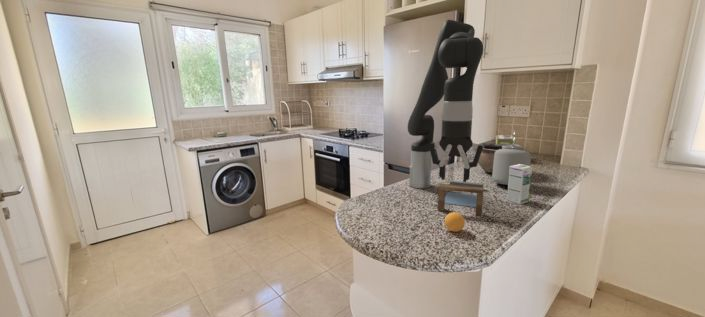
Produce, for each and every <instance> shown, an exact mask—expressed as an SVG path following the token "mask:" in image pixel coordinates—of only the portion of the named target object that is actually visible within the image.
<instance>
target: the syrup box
mask: <svg viewBox="0 0 705 317" xmlns="http://www.w3.org/2000/svg"><path fill="white" fill-rule="evenodd" d="M532 174H533V166H531V165H530V166H528V165H522V164H518V165H513V166H510V168H509V181H508V185H507V195H506V196H507V197H506V198H507V199H506V200H507V201H508V202H510V203H514V204H517V205H522V204H525V203H529V202H530V200H531V199H530V197H531V196H530V195H531V186H532V177H533V176H532Z"/></svg>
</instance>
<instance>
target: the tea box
mask: <svg viewBox="0 0 705 317" xmlns="http://www.w3.org/2000/svg"><path fill="white" fill-rule="evenodd" d="M511 137H512V138H511ZM513 139H514V134H513V135H512V134H510V135H509V134H508V135H507V134H496V135H495V145H499V144H500V143H501V142H503V143H510V145H512V144H516V138H515V139H514V140H513Z"/></svg>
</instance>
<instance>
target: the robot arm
mask: <svg viewBox="0 0 705 317" xmlns="http://www.w3.org/2000/svg"><path fill="white" fill-rule="evenodd" d="M475 31H476V30H475V27H474V26H473V25H471V24H469V23H465V22H460V21H457V20H455V19H454V20H453V19H447V20H445V21H444V23H443V24H442V26H441V29H440V31H439V34H438V38H437V41H436V44H435V48H434V52H433V55H432V58H431V62H430V65H429V67H428V70H427V73H426V75H425V77H424V80H423V83H422V86H421V89H420V93H419V94H418V95H419V96H418V98H417V100H416V104H415V106H414V108H413V110H412V113H411V114H410V116H409V119H408V122H407V132H408V134H409V135H410V136H413V137H418V136H419V137H421V138H420V139H418V140H416V142H413V143H412V144H411V146H410V148H411V149H410V150H411V151H410V166H409V187H412V188H415V189H423V190H424V189H428V188H431V184H432V182H431V181H432V164H434V165H437V166H438V167H439V168H438V171H439V172H438V173H439V174H438V175H439V178H441V180H443V181H445V179H446V167H447V166H446V162H447V160H448V158H449V157H458V158H461V162H462V163H463V167H464V168H463V181H462V182H467V181H468V180H469V179H470V174H471V172H470V171H471V168H477V166H478V165H479V163H478V161H479V158H480V155H481V152H482V149H483V145H482V144H481V143H479V144H478V143H474V142H473V140H472V128H473V111H474V108H473V94H474V93H473V92H474V83H475V78H476V74H477V71H478V68H479V64H480V62H481V60H482V56H483V53H484V44H483V41H482V40H481V39H480V38H479V37H475V33H476V32H475ZM458 68H460V69H462V68H466V70H465V72H464V73H463V74H461V75H458V76H454V77H450V78H449V76H448V72H447V69H458ZM442 99H443V104H442V105H443V106H442V113H441V137H440V139H439V141H434V135H435V134H434V133H435V120H434V117H433V116H432V115H431V114H427V113H428V111H430V110H431V109H433V107H435V106H436V105H437V104H439V102H440V101H441V100H442ZM439 147H440V148H441V149H442V150H443V155H442V157H441V159H439V156H438V151H437V150H438V149H439ZM471 148H473V152H474V153H475V155H474V157H473V161H470V159H469V156H468V153H467V152H468V151H469V150H470V149H471Z"/></svg>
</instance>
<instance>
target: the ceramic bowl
mask: <svg viewBox="0 0 705 317" xmlns="http://www.w3.org/2000/svg"><path fill="white" fill-rule="evenodd" d="M480 144H482V145H483V149H482V152H481V155H480V158H479V161H478V165H479V167H481V169H483V171H485V172H487V173H489V174H490V173H491V174H493V164H494V154H495V152H496V151H497V150H499V149H502V146H520V147H523V146H521V145H520V144H517V143H515V144H512V145H510V143H503V142H501V143H500V144H499V145H496V143H494V142H492V141H487V142H485V141H484V142H481V143H480Z"/></svg>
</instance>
